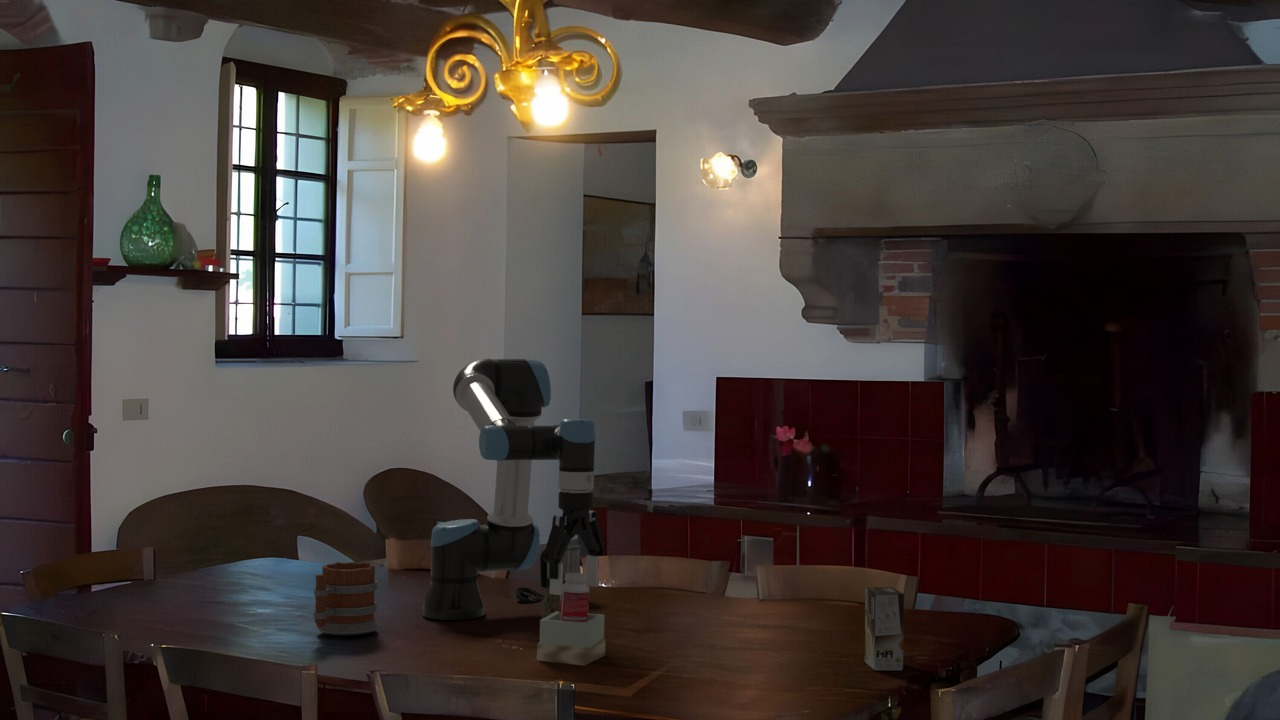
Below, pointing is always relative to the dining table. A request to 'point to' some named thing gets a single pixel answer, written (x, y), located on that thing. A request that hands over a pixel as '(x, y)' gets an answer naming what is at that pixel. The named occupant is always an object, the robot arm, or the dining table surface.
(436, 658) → the dining table surface
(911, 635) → the dining table surface
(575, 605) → the pill bottle
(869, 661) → the coffee box
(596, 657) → the tower base
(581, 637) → the tower top
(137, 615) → the dining table surface
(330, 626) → the mug
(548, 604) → the decorative egg
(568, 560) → the milk frother
